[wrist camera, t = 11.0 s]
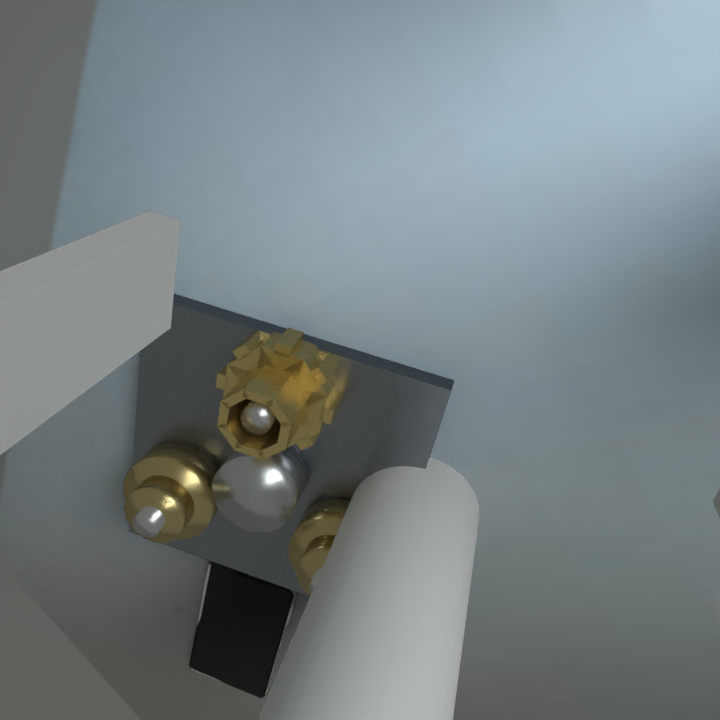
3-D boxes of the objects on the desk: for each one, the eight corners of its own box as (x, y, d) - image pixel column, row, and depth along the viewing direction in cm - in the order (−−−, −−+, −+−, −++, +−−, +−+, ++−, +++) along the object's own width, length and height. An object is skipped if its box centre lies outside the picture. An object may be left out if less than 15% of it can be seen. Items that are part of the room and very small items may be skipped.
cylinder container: (385, 563, 53) (230, 1072, 26) (336, 467, 50) (110, 928, 24) (497, 542, 49) (449, 1104, 23) (452, 438, 47) (337, 940, 20)
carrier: (155, 288, 47) (97, 323, 41) (453, 380, 44) (440, 433, 38) (138, 520, 57) (89, 576, 51) (380, 606, 54) (360, 677, 48)
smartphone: (187, 668, 63) (208, 557, 56) (192, 657, 64) (214, 548, 57) (265, 700, 62) (296, 592, 55) (269, 689, 63) (301, 582, 56)
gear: (239, 312, 44) (198, 347, 39) (354, 348, 43) (328, 389, 38) (225, 413, 48) (186, 457, 43) (330, 448, 47) (304, 497, 42)
